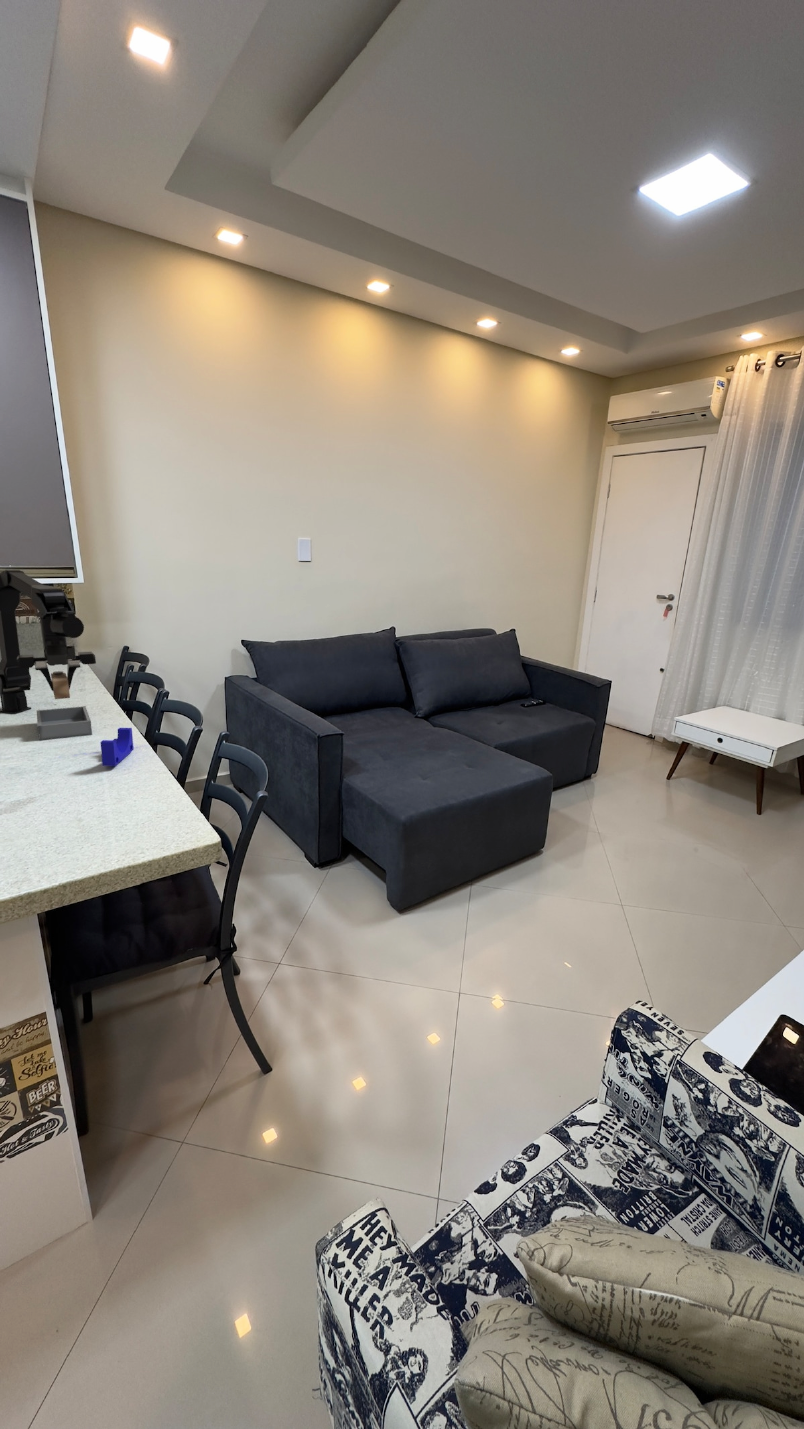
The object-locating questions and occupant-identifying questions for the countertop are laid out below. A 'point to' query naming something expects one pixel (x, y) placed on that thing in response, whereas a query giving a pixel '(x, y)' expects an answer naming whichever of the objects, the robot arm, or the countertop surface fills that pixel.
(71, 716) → the bin
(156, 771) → the countertop surface
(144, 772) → the countertop surface
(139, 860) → the countertop surface
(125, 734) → the cable clip
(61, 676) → the strut
